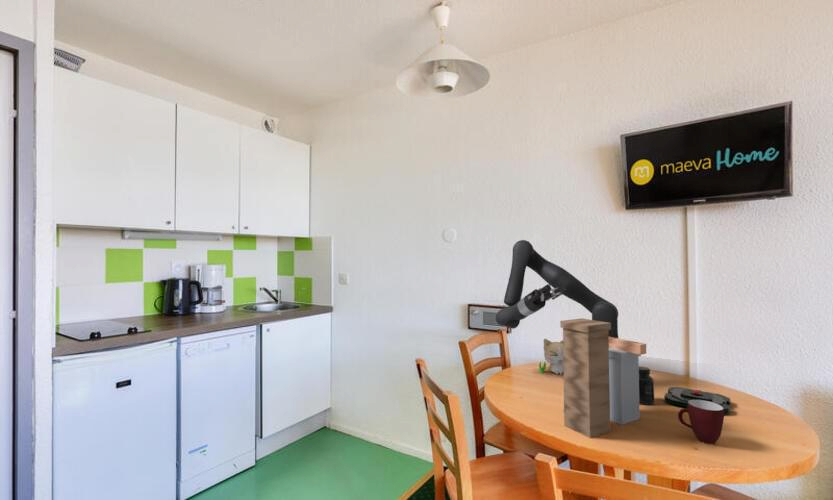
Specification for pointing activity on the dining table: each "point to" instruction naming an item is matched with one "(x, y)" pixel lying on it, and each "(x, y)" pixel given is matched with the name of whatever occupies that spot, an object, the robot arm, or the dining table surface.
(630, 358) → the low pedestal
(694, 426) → the mug
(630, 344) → the terracotta bar
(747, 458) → the dining table surface
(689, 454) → the dining table surface
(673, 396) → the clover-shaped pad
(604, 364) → the tall pedestal
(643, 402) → the supplement bottle
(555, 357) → the kitten
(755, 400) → the dining table surface
